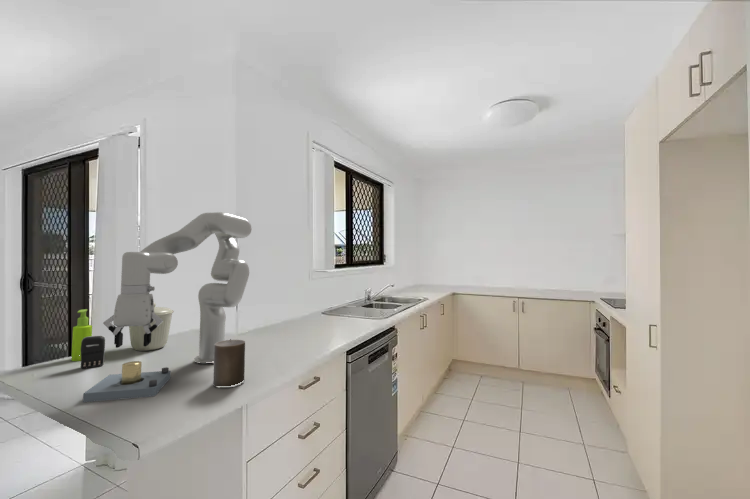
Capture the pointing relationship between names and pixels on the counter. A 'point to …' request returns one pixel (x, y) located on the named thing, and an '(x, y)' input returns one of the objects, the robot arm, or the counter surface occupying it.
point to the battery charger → (92, 351)
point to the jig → (127, 387)
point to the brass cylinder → (131, 372)
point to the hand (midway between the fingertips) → (132, 345)
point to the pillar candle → (229, 362)
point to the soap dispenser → (80, 334)
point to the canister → (157, 335)
